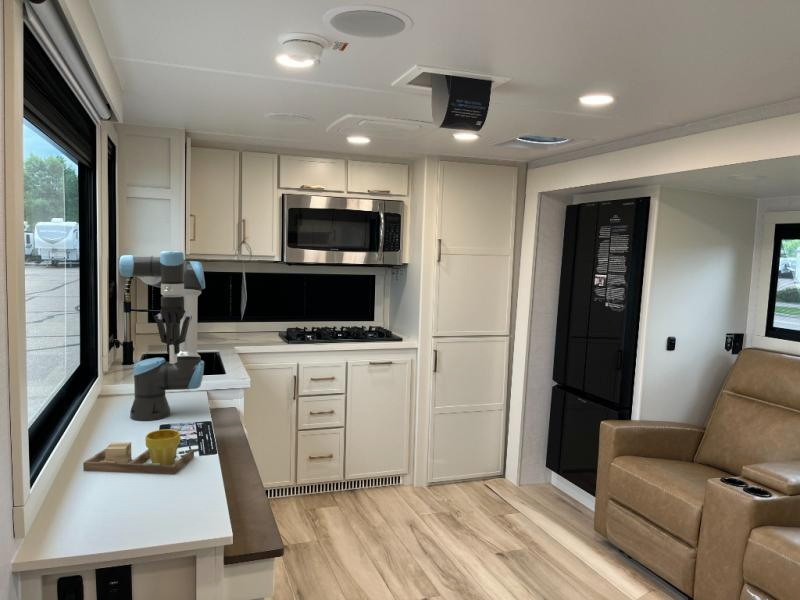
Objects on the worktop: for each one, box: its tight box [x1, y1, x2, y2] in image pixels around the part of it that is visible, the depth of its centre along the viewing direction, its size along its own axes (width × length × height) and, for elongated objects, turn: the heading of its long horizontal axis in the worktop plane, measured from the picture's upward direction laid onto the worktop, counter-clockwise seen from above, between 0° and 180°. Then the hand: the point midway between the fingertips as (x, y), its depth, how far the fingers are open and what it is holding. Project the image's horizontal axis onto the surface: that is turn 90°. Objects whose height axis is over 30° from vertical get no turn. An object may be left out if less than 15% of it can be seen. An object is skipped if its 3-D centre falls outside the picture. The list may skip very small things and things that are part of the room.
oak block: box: [104, 441, 133, 463], centre depth 189 cm, size 6×6×6 cm
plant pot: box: [145, 428, 181, 465], centre depth 189 cm, size 10×10×10 cm
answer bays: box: [82, 448, 195, 475], centre depth 189 cm, size 15×29×3 cm, turn 87°
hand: (173, 362), depth 205 cm, fingers closed
